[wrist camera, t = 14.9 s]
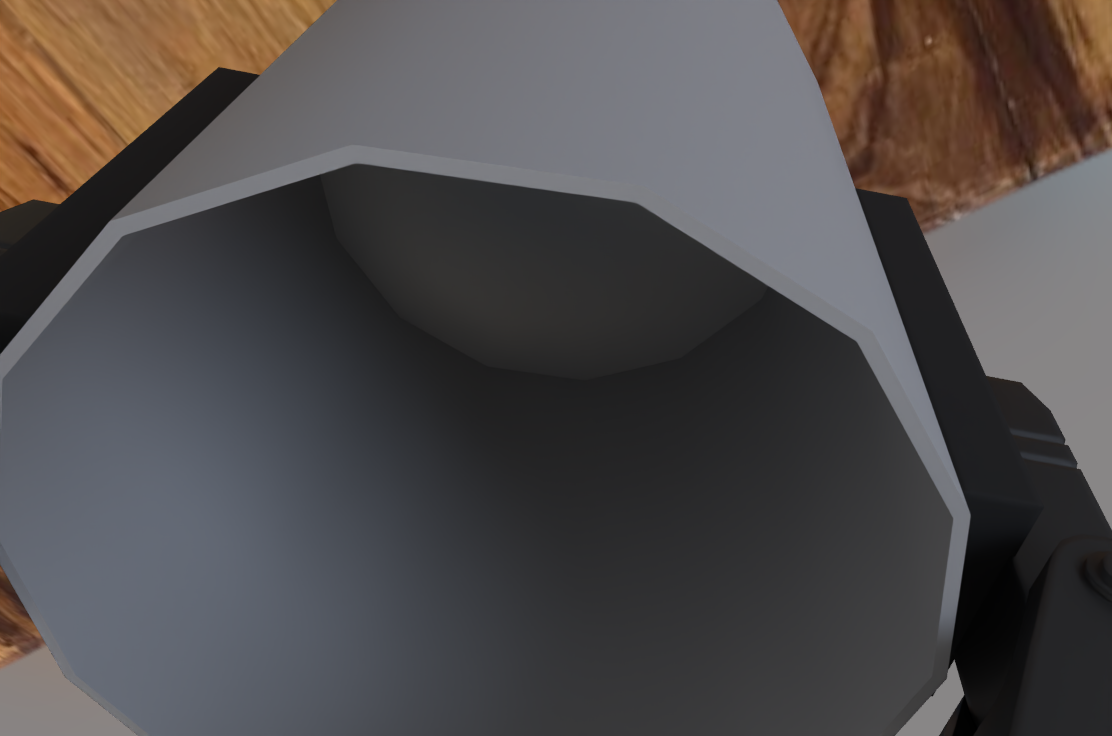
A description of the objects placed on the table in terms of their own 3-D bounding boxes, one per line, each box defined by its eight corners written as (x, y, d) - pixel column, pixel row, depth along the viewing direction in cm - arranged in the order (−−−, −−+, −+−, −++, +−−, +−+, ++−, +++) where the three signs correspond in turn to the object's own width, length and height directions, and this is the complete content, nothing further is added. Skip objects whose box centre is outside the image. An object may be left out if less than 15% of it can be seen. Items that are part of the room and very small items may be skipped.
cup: (898, 244, 17) (1100, 758, 9) (501, 425, 20) (385, 934, 12) (656, -245, 14) (630, -123, 5) (216, 64, 17) (-227, 442, 8)
